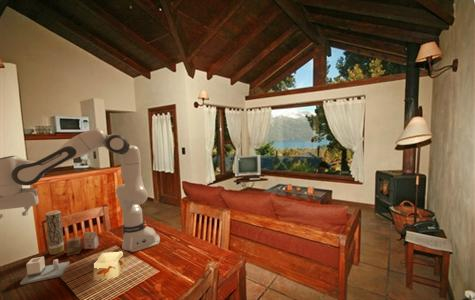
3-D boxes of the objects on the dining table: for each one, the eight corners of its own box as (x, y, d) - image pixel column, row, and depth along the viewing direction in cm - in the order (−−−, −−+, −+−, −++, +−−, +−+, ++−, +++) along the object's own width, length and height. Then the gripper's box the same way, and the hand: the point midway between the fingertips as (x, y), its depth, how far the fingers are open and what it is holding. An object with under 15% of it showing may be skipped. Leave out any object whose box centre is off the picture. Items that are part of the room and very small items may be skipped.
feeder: (81, 249, 131) (80, 236, 130) (79, 253, 127) (78, 240, 126) (69, 251, 129) (68, 238, 128) (66, 255, 124) (65, 242, 124)
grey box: (87, 245, 135) (86, 230, 134) (98, 245, 135) (97, 230, 134) (83, 249, 131) (82, 233, 130) (95, 248, 131) (93, 233, 130)
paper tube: (55, 255, 124) (51, 214, 122) (46, 254, 125) (42, 214, 123) (67, 249, 131) (63, 210, 128) (58, 248, 132) (54, 209, 130)
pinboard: (69, 263, 117) (68, 252, 116) (61, 276, 107) (60, 264, 106) (32, 270, 111) (31, 259, 110) (20, 285, 101) (19, 272, 100)
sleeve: (45, 268, 111) (44, 256, 110) (40, 275, 106) (39, 261, 105) (33, 271, 109) (31, 258, 108) (27, 277, 104) (26, 264, 103)
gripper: (39, 185, 110) (42, 211, 111) (-15, 190, 102) (-11, 217, 103) (33, 188, 104) (36, 215, 105) (-25, 193, 96) (-21, 222, 97)
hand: (12, 216), depth 104 cm, fingers open, 8 cm apart
